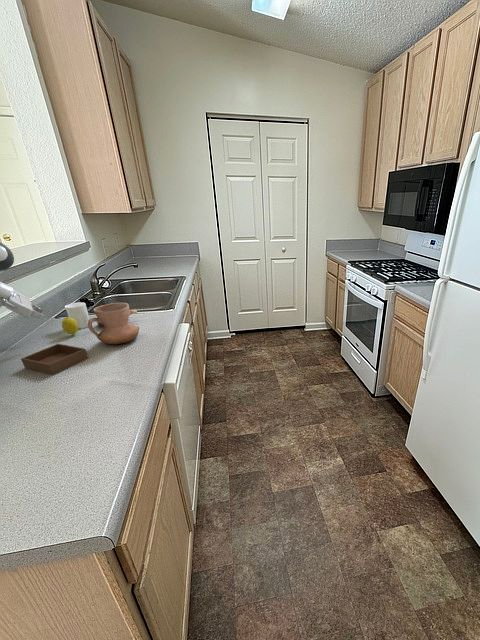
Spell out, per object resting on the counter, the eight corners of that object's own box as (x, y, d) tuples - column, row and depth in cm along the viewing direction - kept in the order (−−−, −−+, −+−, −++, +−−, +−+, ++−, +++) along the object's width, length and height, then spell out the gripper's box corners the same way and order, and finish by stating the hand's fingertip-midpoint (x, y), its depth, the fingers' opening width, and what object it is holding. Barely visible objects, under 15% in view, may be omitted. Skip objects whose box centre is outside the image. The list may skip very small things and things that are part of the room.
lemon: (73, 332, 144) (66, 314, 140) (83, 333, 143) (77, 315, 139) (62, 337, 139) (55, 319, 135) (73, 338, 138) (67, 320, 134)
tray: (25, 368, 114) (20, 358, 113) (61, 352, 125) (58, 343, 124) (53, 375, 110) (49, 365, 108) (88, 358, 121) (85, 348, 119)
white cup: (70, 326, 150) (62, 305, 146) (89, 321, 155) (83, 301, 151) (74, 330, 145) (66, 309, 141) (94, 326, 150) (87, 304, 145)
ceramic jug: (139, 330, 144) (130, 298, 138) (147, 340, 134) (138, 307, 127) (92, 340, 135) (81, 307, 129) (96, 352, 125) (84, 317, 118)
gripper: (6, 294, 116) (50, 314, 126) (5, 283, 130) (44, 302, 140) (-4, 309, 115) (40, 328, 125) (-4, 296, 130) (36, 314, 140)
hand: (42, 314), depth 133 cm, fingers open, 8 cm apart
